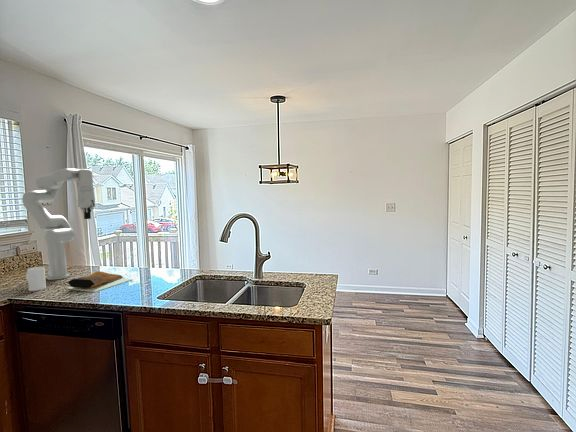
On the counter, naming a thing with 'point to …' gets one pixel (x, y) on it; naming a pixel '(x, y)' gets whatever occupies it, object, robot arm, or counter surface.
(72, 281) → the pancake mix bag
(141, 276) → the counter surface
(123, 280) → the silicone mat
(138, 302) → the counter surface
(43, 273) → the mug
